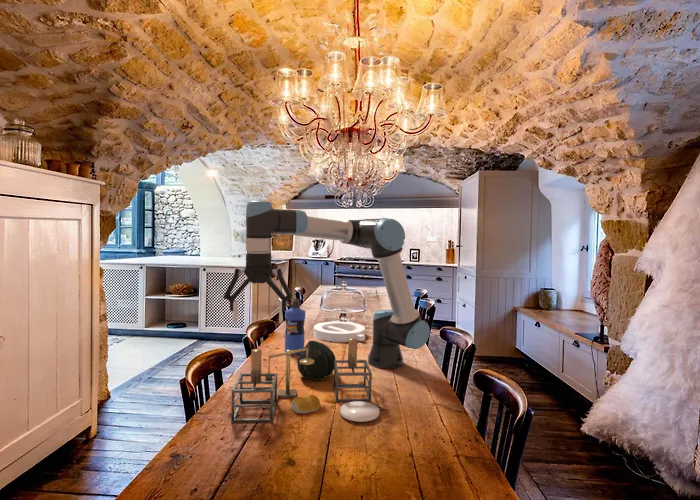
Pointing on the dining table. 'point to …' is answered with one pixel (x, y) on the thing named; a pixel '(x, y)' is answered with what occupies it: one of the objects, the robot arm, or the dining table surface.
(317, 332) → the ring with crossbar
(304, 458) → the dining table surface
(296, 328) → the water bottle
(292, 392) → the balance
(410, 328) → the robot arm
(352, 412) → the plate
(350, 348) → the metal bar cube frame
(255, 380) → the wire frame cage
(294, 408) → the bread roll
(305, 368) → the squash
